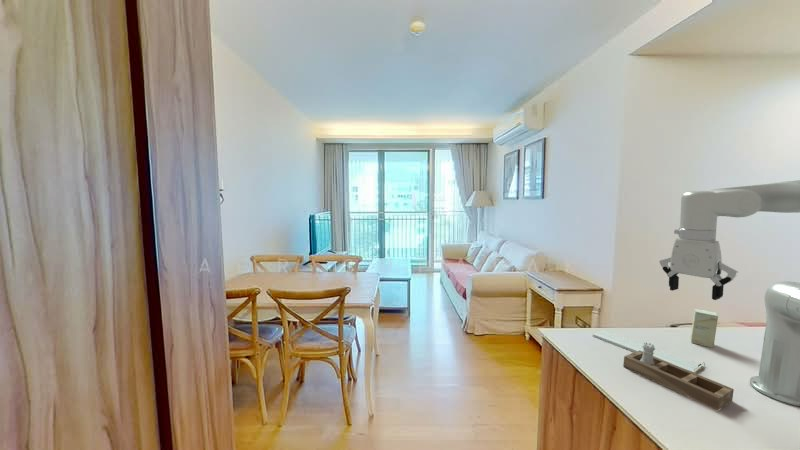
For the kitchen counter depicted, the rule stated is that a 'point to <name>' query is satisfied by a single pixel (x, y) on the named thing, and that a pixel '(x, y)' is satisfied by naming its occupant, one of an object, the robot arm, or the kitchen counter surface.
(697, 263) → the robot arm
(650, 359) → the rook chess piece
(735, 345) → the kitchen counter surface
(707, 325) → the skincare box
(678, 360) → the baseboard
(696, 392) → the rack
